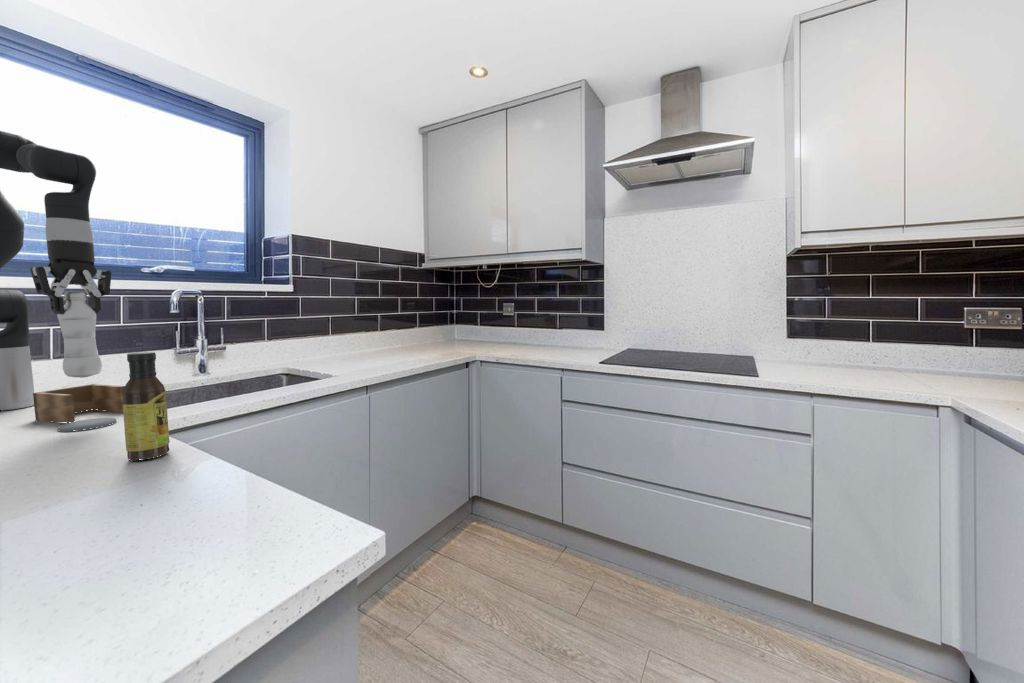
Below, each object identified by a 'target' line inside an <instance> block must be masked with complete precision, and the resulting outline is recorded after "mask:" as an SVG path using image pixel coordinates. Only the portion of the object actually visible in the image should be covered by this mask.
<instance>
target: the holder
mask: <svg viewBox="0 0 1024 683" xmlns="http://www.w3.org/2000/svg"><path fill="white" fill-rule="evenodd" d="M124 387H125V386H124V385H115V384H114V385H113V384H98V383H97V384H96V383H92V384H85V385H78V386H72V387H66V388H64V387H63V388H58V389H51V390H46V391H45V390H44V391H38V392H34V393H33V399H34V405H33V406H34V416H35V417H34V418H35V421H36V420H41V421H40V422H45V421H53V422H52V423H55V422H67V423H69V422H74V421H76V416H75V414H74V413H75V412H81V411H86V410H91V409H98V410H106V411H105V412H109V411H114V412H113V413H120V412H121V414H122V413H123V388H124ZM98 410H97V411H98ZM91 411H92V410H91ZM86 412H87V411H86ZM81 413H82V412H81Z"/></svg>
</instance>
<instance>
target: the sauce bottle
mask: <svg viewBox="0 0 1024 683" xmlns="http://www.w3.org/2000/svg"><path fill="white" fill-rule="evenodd" d="M156 356H157V354H156V352H155V351H150V352H148V351H143V352H140V351H139V352H129V353H127V354H126V361H127V362H128V367H129V375H128V376H129V380H128V381H127V382H126V384H125V387H124V388H123V426H124V437H125V449H126V451H127V460H129V459H130V460H139V459H148V458H153V457H157V456H160V455H163V454H165V453H167V452H168V451H169V452H170V447H169V444H170V434H169V432H170V431H169V418H168V405H167V404H168V403H167V392H166V389H165V386H164V384H163V383H162V381H160V379H159V378H158V376H157V371H156V359H157V357H156ZM169 452H168V453H169ZM168 453H167V454H168ZM165 455H166V454H165ZM163 456H164V455H163ZM157 458H158V457H157ZM153 459H154V458H153ZM130 460H129V461H130ZM148 460H149V459H148Z"/></svg>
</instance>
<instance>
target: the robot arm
mask: <svg viewBox="0 0 1024 683" xmlns="http://www.w3.org/2000/svg"><path fill="white" fill-rule="evenodd" d="M0 169H1V170H2V169H3V170H7V171H12V172H16V173H17V172H18V173H27V174H28V173H30V174H32V175H34V176H35V177H36V178H38V179H42V180H46V181H51V182H57V183H61V184H67V185H72V189H71V190H70V191H67V192H66V191H51V192H47V193H46V194H45V195H44V200H43V202H44V210H45V237H46V238H45V240H46V248H47V259H48V260H49V263H48V265H47V266H31V267H30V273H31V277H32V280H33V283H34V287H35V288H34V289H35V290H36V293H37V294H38V295H44V296H47V297H48V298H49V304H50V311H51V312H53V313H54V314H55V315H58V314H63V313H64V305H65V303H64V297H62V295H63V294H64V292H65V290H66V289H67V288H68V286H71V285H76V286H80V288H82V289H83V290H84V291H85V293H86V294H87V295H88V297H87V298H88V300H87V301H88V303H87V304H88V305H89V306H90V307H91V308H92V309H93V310H94V311H95V313H96V314H99V313H100V311H101V310H102V305H101V298H102V297H104V296H108V295H110V294H111V293H110V292H111V282H112V272H111V271H110V270H100V269H97V268H96V266H95V261H96V259H95V248H94V247H95V246H94V238H93V236H94V235H93V230H92V227H91V221H90V219H91V218H90V209H89V208H90V207H89V204H90V198H91V194H92V190H93V186H94V183H95V181H96V176H97V170H96V167H95V164H94V163H93V161H92V160H91V159H90V158H89V157H86V156H85V155H82V154H77V153H75V152H74V153H73V152H69V151H65V150H61V149H56V148H53V147H52V148H51V147H49V146H45V145H42V144H41V145H40V144H37V143H36V142H34V141H33V140H31V139H29V138H27V137H24V136H22V135H19V134H14V133H11V132H7V131H2V130H0ZM24 236H25V222H24V219H23V218H22V217H21V215H20V214H19V212H18V211H17V209H16V208H15V207H14V206H13V204H12V203H11V202H10V201H9V200H8V199H7V197H6V196H5V194H4V193H3V191H2V190H1V189H0V270H1V269H2V268H4V266H6V265H7V264H8V263H9V262H10V261H11V260H12V259H14V258H15V257H16V256H17V255H18V254H19V253H20V251H21V250H22V249H23V247H24V238H25V237H24ZM49 273H50V274H51V275H52V277H54V278H53V279H52V282H51V284H49V280H48V276H49V275H50V274H49ZM95 276H96V278H97V283H96V282H95V280H94V279H93V278H94V277H95ZM5 323H6V325H5V327H4V328H3V329H1V330H0V410H1V411H9V410H17V409H23V408H28V407H31V406H34V399H33V393H35V386H34V376H33V366H32V358H31V350H30V327H29V326H30V325H29V303H28V299H27V297H26V295H25V293H23V292H22V291H20V290H16V289H0V324H5Z"/></svg>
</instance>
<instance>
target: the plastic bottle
mask: <svg viewBox="0 0 1024 683" xmlns="http://www.w3.org/2000/svg"><path fill="white" fill-rule="evenodd" d="M63 295H64V296H63V301H65V303H64V313H63V314H56V317H57V320H58V323H59V327H60V330H61V334H62V338H63V359H62V360H63V361H62V370H63V373H64V375H65V376H67V377H70V378H71V377H72V378H80V379H81V378H83V379H84V378H88V377H92V376H96V375H98V374H100V373H101V372H102V368H103V364H102V359H101V357H100V356H99V351H98V347H97V340H96V329H97V328H96V327H97V313H95V311H94V310H93V309H92V308H91V307H90V306H89V303H87V301H88V298H89V297H87V295H88V294H87V292H79V291H78V292H76V291H75V292H71V291H70V292H65V291H63Z"/></svg>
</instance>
